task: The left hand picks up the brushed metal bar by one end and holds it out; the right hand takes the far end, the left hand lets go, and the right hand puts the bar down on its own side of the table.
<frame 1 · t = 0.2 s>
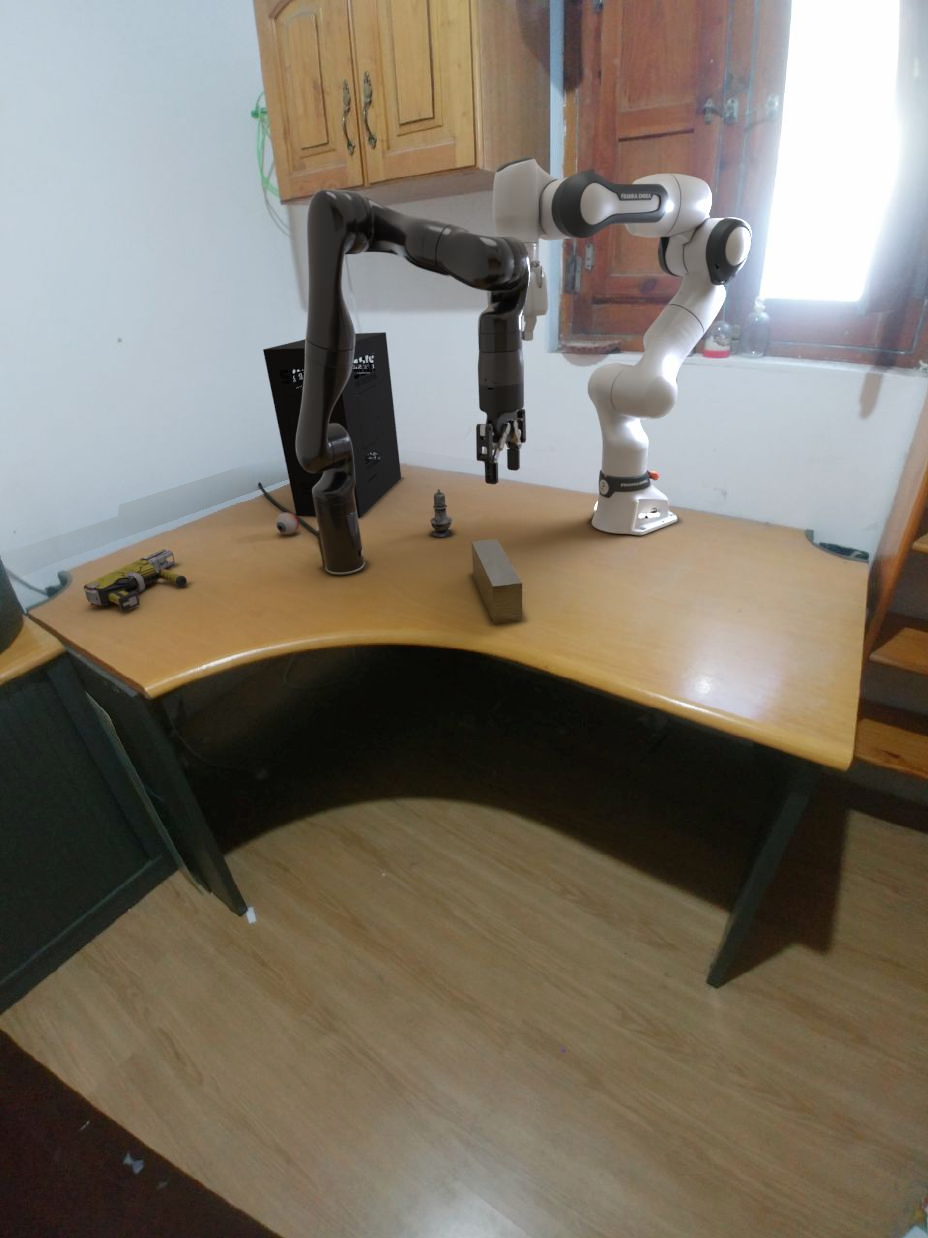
left hand: (502, 476, 107), 28 cm above the table, tool pointing down, fingers open, 8 cm apart
right hand: (516, 338, 125), 47 cm above the table, tool pointing down, fingers open, 8 cm apart
toy gun: (152, 588, 140), on the table
bar: (495, 596, 128), on the table
eyeball: (289, 534, 165), on the table
cardboard box: (352, 495, 192), on the table
salt shaker: (442, 533, 160), on the table
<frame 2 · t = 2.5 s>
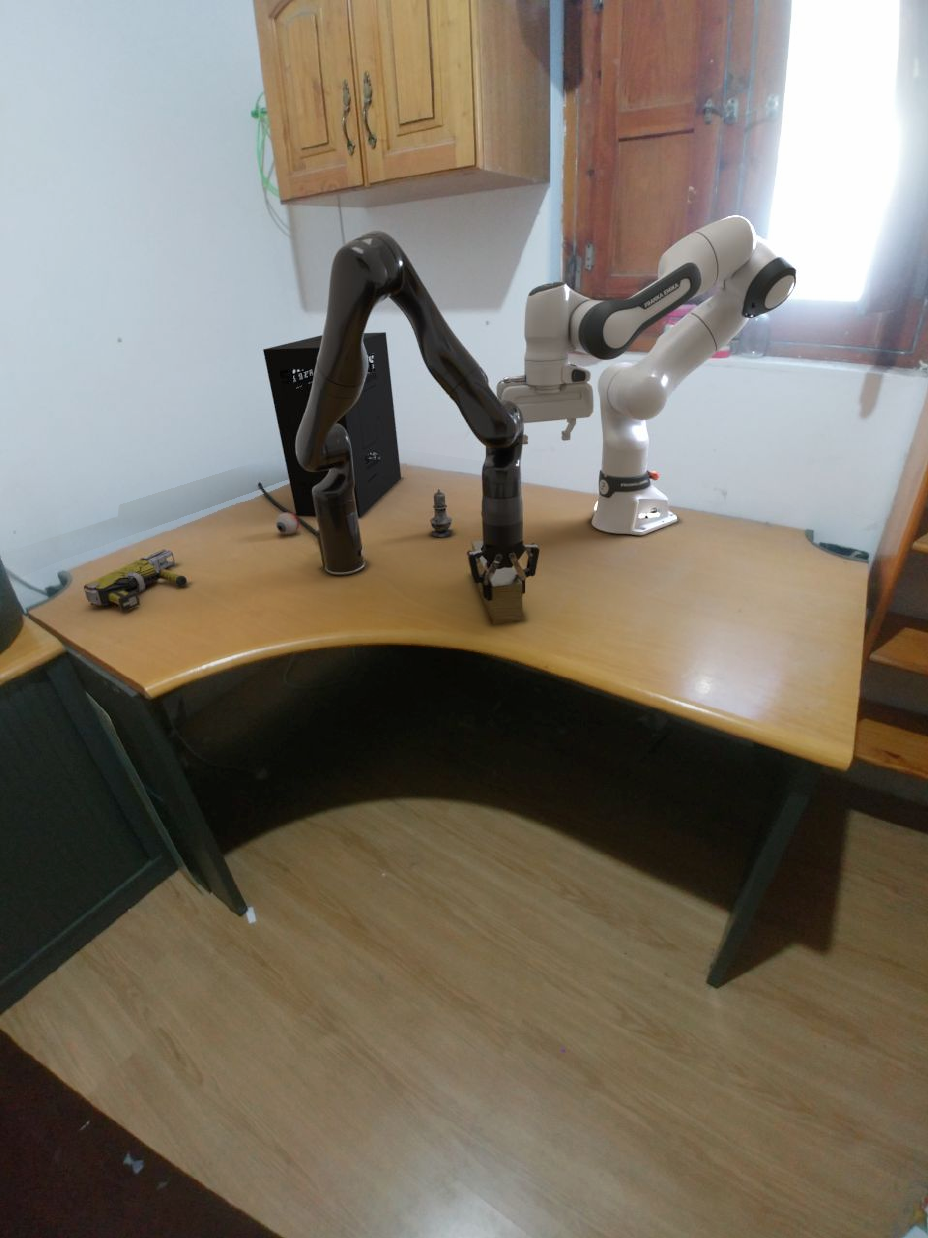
left hand: (504, 596, 119), 4 cm above the table, tool pointing down, fingers closed on bar, 5 cm apart
right hand: (544, 441, 130), 27 cm above the table, tool pointing down, fingers open, 8 cm apart
bar: (495, 596, 128), on the table, touching left hand
everything else where it was.
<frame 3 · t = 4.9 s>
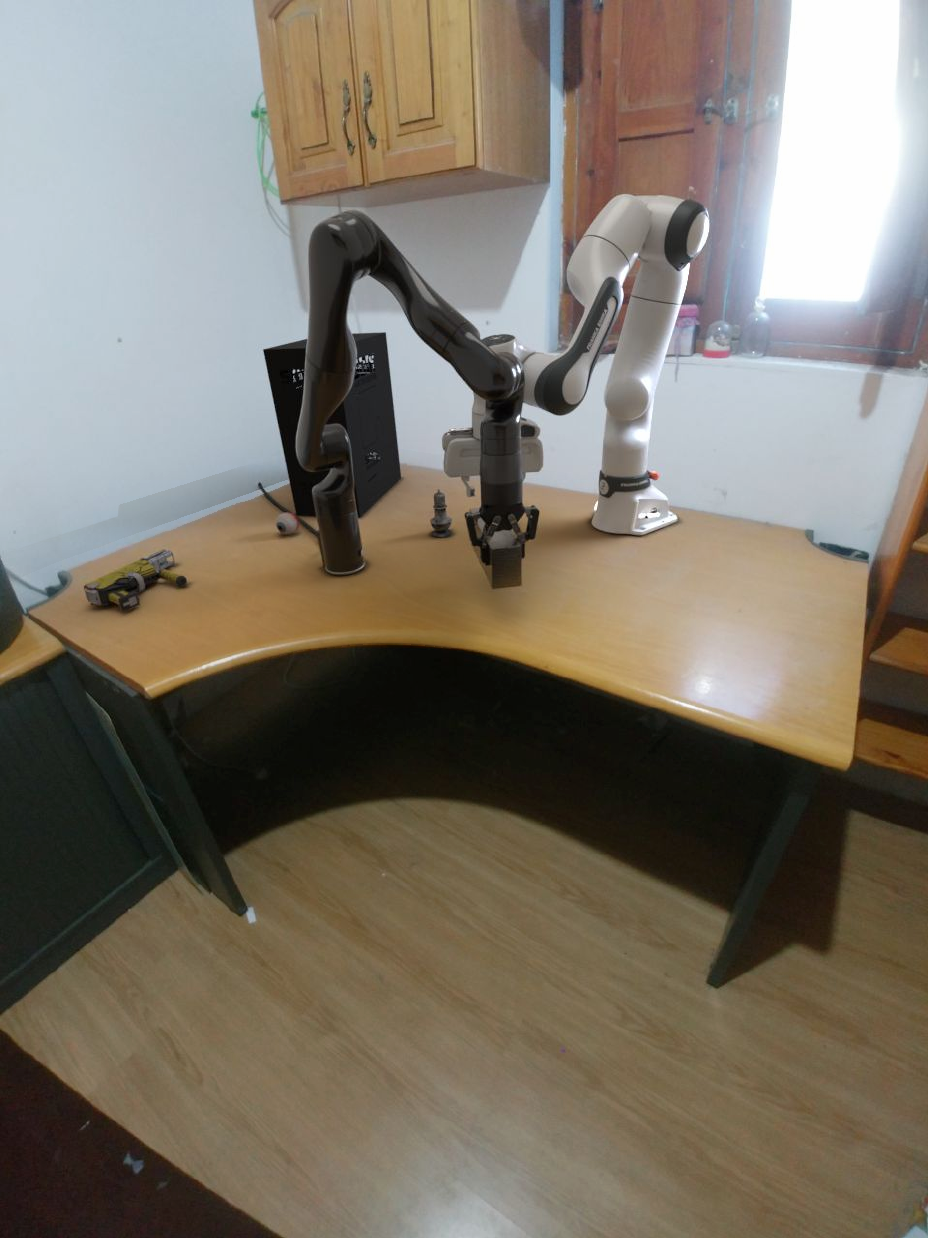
left hand: (502, 561, 115), 11 cm above the table, tool pointing down, fingers closed on bar, 5 cm apart
right hand: (492, 494, 125), 20 cm above the table, tool pointing down, fingers open, 8 cm apart
bar: (494, 563, 124), point 8 cm above the table, touching left hand
everything else where it was.
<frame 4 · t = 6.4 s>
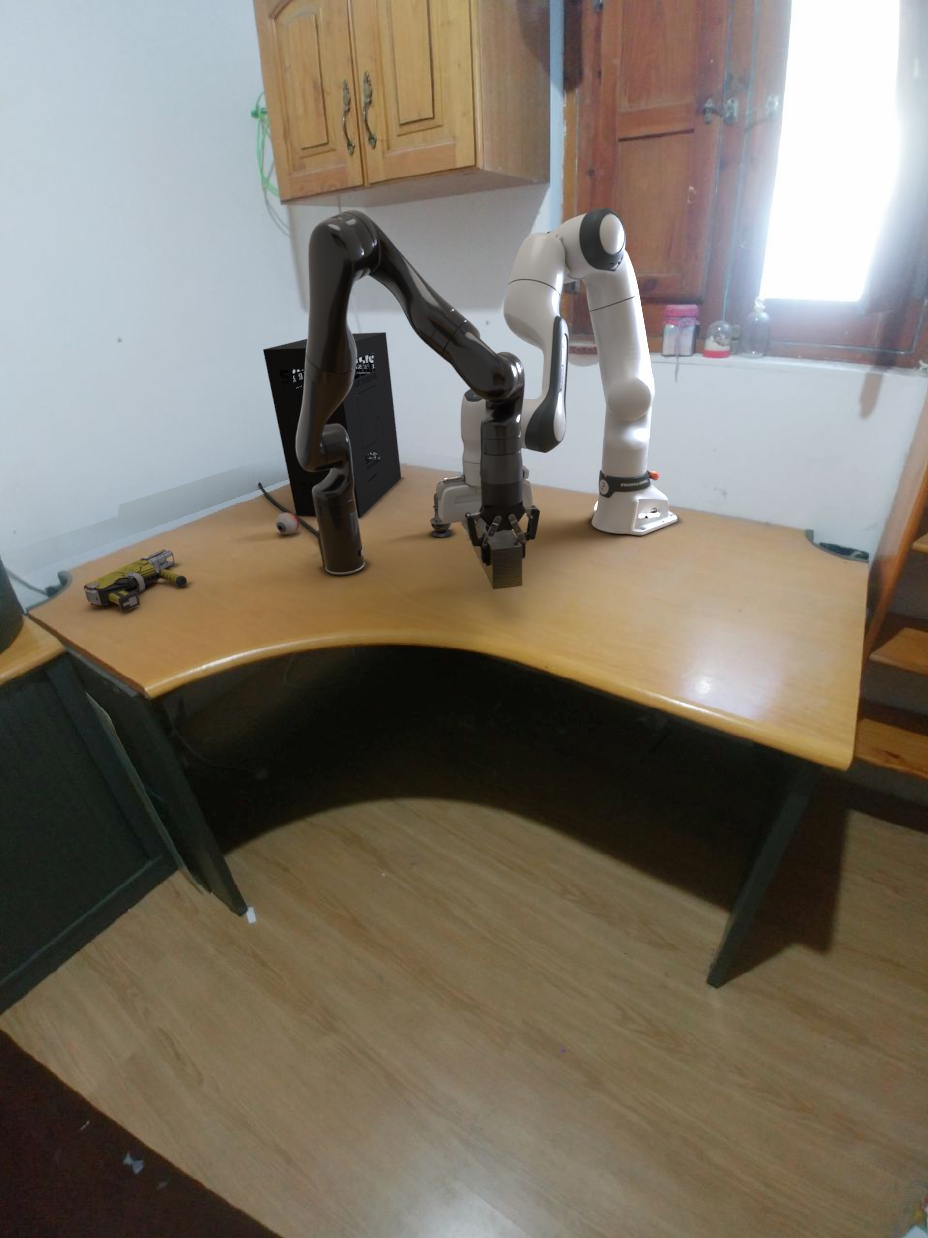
left hand: (503, 562, 115), 12 cm above the table, tool pointing down, fingers closed on bar, 5 cm apart
right hand: (486, 535, 129), 11 cm above the table, tool pointing down, fingers closed on bar, 6 cm apart
bar: (495, 563, 124), point 8 cm above the table, touching right hand, left hand
everything else where it was.
when the left hand's fingers open (12 cm above the table, at t = 7.6 s): bar moves 1 cm, held by the right hand.
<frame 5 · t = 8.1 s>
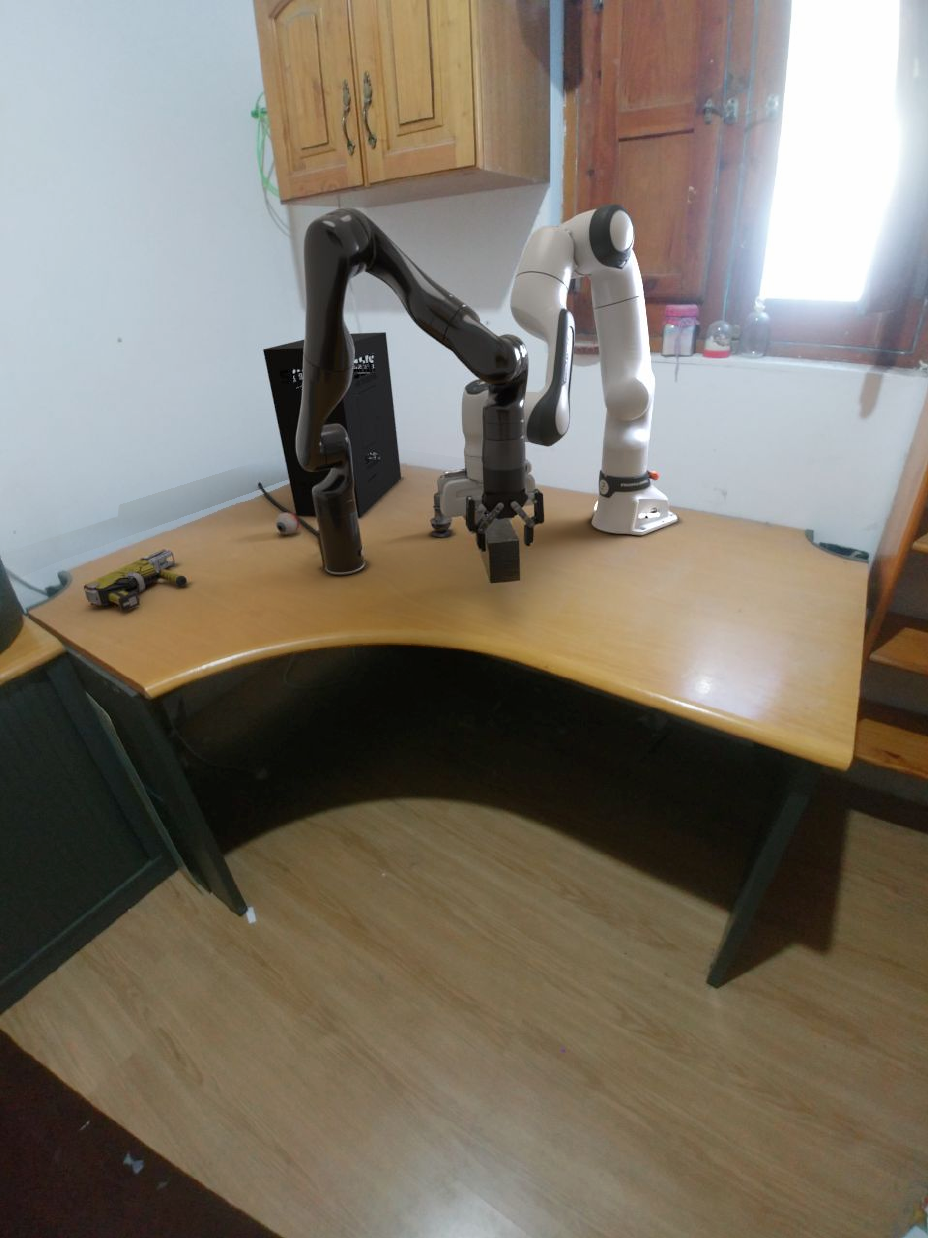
left hand: (505, 547, 113), 15 cm above the table, tool pointing down, fingers open, 8 cm apart
right hand: (489, 530, 128), 12 cm above the table, tool pointing down, fingers closed on bar, 6 cm apart
bar: (496, 558, 123), point 9 cm above the table, touching right hand
everything else where it was.
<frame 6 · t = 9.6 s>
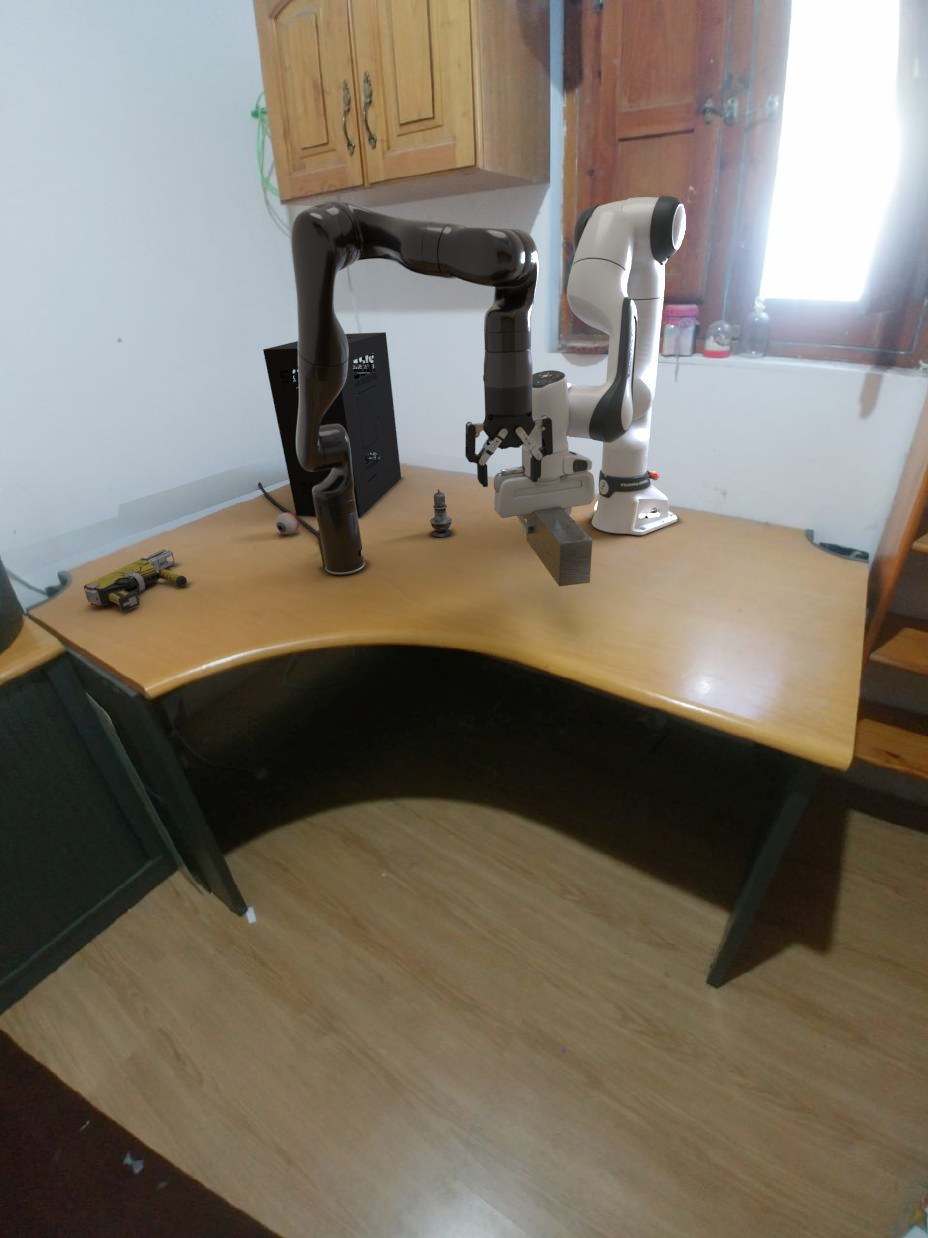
left hand: (509, 483, 102), 29 cm above the table, tool pointing down, fingers open, 8 cm apart
right hand: (544, 530, 123), 14 cm above the table, tool pointing down, fingers closed on bar, 6 cm apart
bar: (555, 559, 117), point 11 cm above the table, touching right hand
everything else where it was.
when the right hand's fingers open (5 cm above the table, at t = 13.2 s): bar stays where it is, on the table.
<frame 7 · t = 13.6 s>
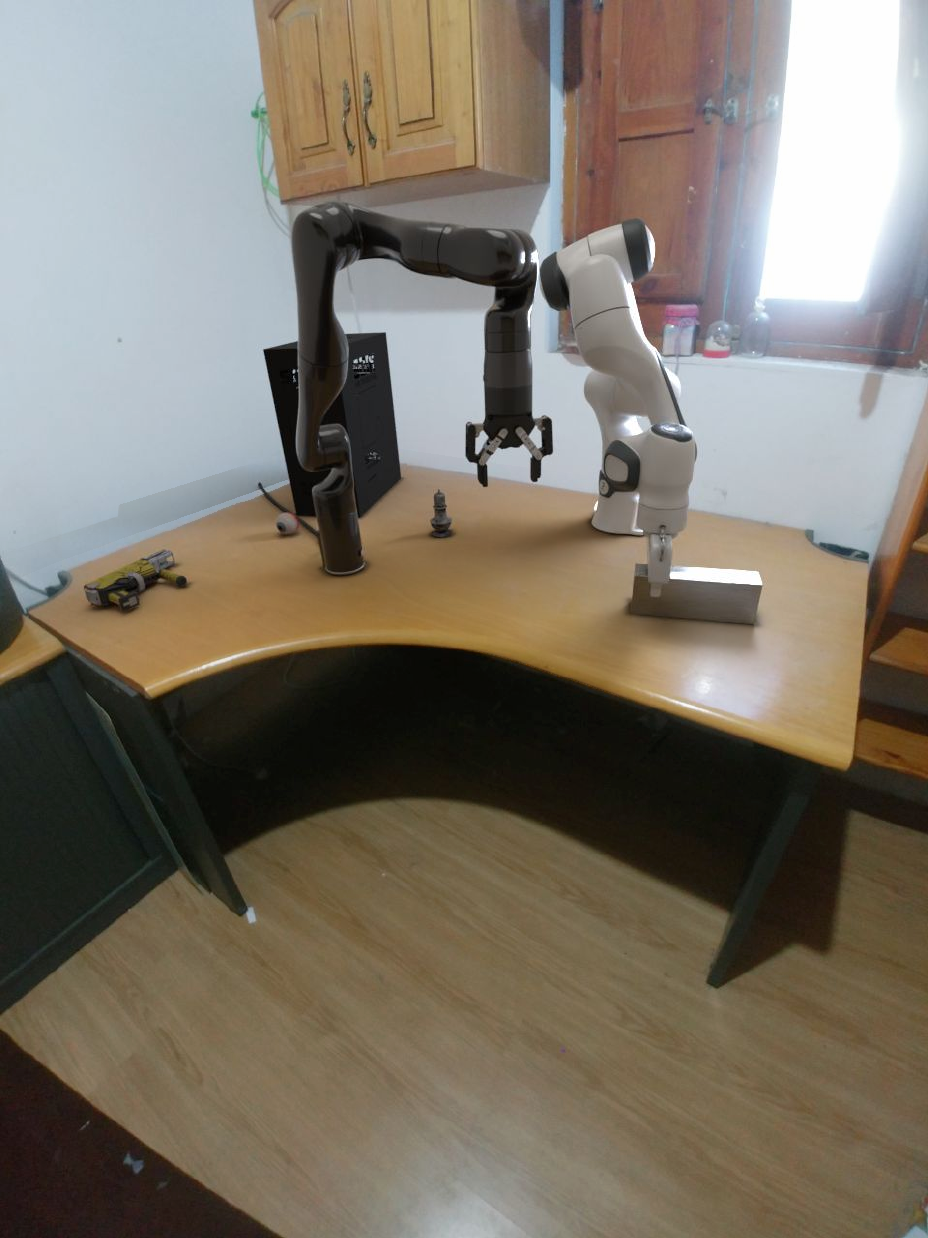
left hand: (509, 483, 102), 29 cm above the table, tool pointing down, fingers open, 8 cm apart
right hand: (654, 583, 117), 5 cm above the table, tool pointing down, fingers open, 8 cm apart
bar: (690, 611, 118), on the table
everything else where it was.
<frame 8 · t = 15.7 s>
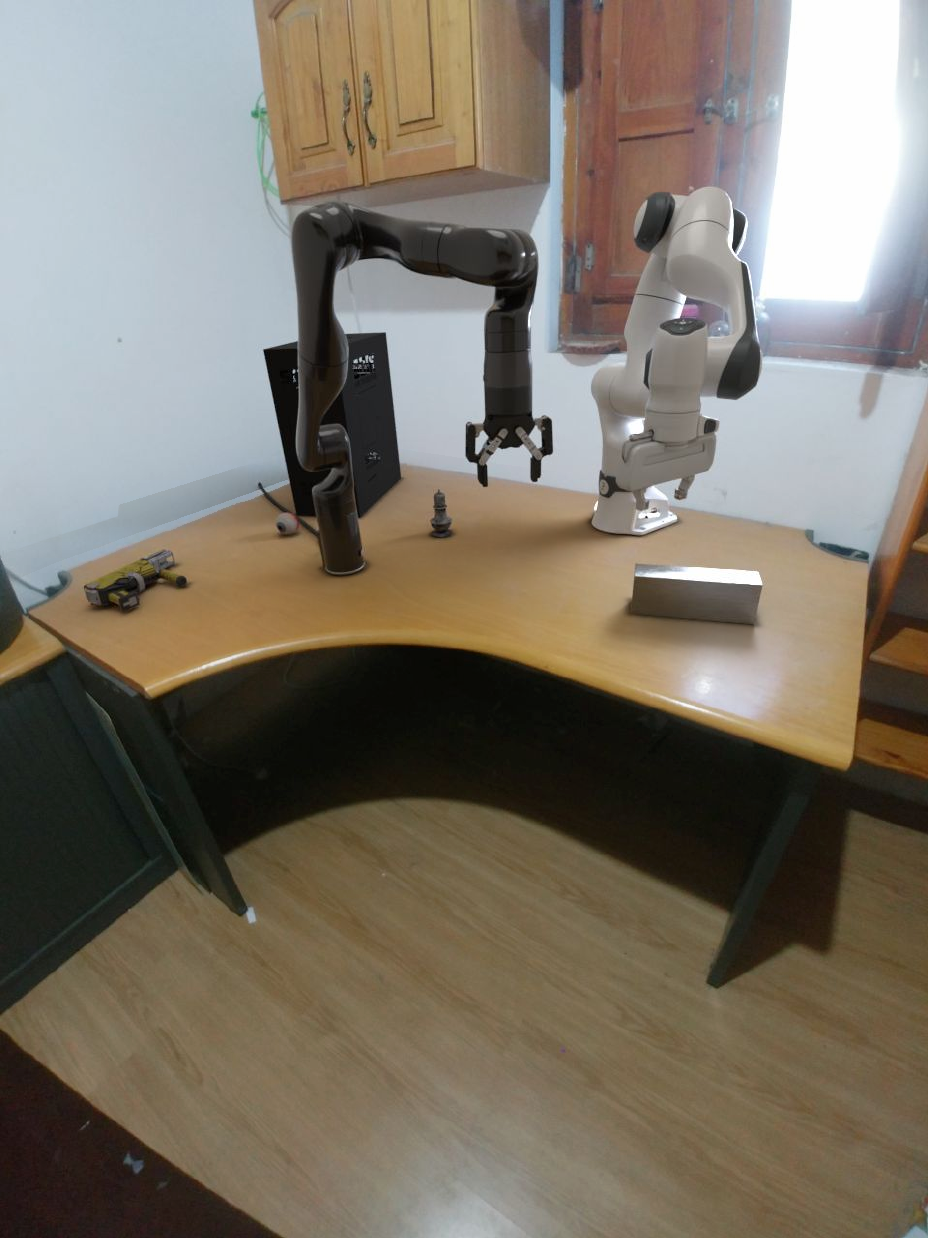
left hand: (509, 483, 102), 29 cm above the table, tool pointing down, fingers open, 8 cm apart
right hand: (661, 504, 109), 22 cm above the table, tool pointing down, fingers open, 8 cm apart
nothing on the table moved.
at the end: bar inside the target area (7.8 cm from its centre), on the table; the left hand is holding nothing; the right hand is holding nothing; bar at rest at the end (0.0 cm/s) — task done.
